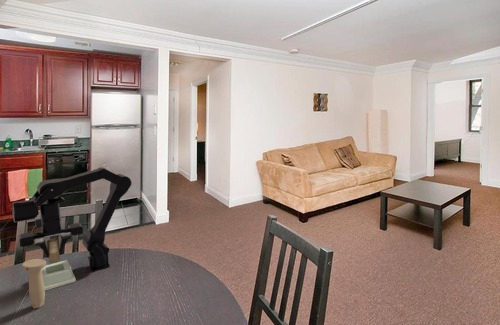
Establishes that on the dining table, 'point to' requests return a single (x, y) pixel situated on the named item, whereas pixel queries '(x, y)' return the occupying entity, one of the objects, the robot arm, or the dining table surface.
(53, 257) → the dowel
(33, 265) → the handle
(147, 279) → the dining table surface
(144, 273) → the dining table surface
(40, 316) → the dining table surface
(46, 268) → the socket plate
